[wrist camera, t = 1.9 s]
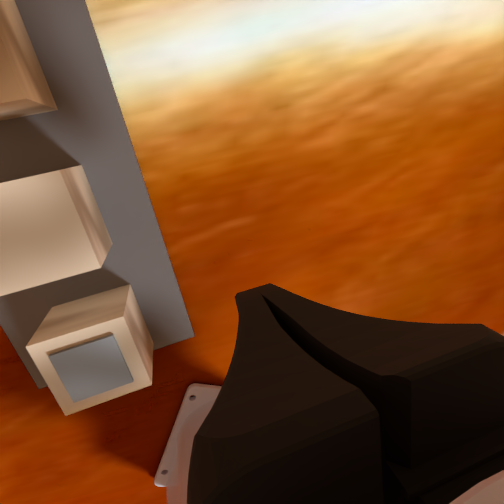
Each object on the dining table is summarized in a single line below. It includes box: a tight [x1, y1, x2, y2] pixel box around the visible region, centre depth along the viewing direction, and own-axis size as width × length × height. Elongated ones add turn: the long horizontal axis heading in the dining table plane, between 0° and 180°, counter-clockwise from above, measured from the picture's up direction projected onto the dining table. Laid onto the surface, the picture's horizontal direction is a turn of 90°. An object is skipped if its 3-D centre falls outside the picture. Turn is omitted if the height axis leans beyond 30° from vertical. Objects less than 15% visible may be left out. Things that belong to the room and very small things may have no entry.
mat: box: [0, 0, 194, 389], centre depth 17 cm, size 20×10×1 cm, turn 12°
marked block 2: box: [26, 284, 153, 416], centre depth 18 cm, size 4×4×4 cm
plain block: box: [0, 165, 113, 296], centre depth 15 cm, size 4×4×4 cm
